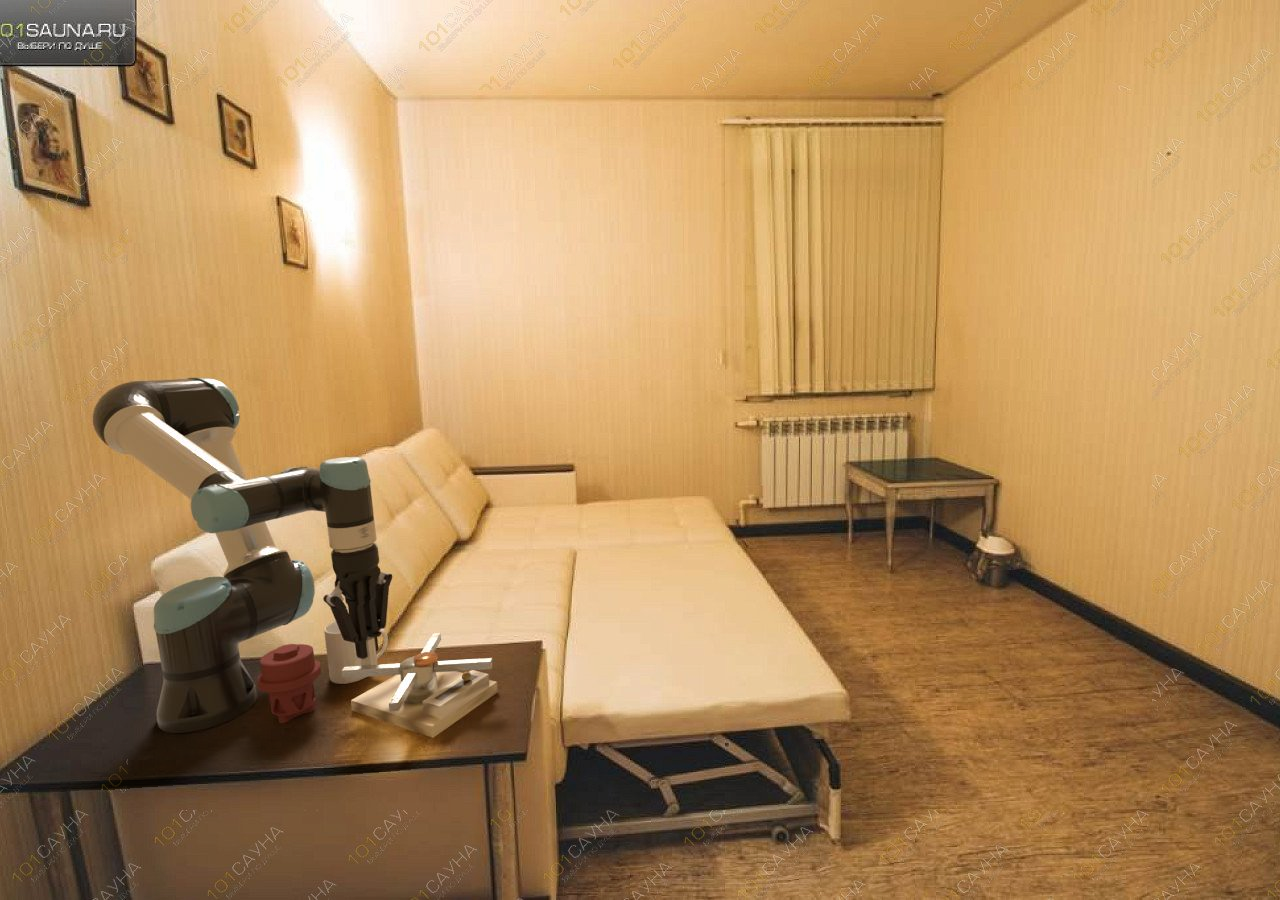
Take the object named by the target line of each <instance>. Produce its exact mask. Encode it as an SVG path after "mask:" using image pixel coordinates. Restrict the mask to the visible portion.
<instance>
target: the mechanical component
mask: <svg viewBox="0 0 1280 900" xmlns="http://www.w3.org/2000/svg"><path fill="white" fill-rule="evenodd" d="M314 653H315V652H314V647H313V646H311V645H310V644H303V643H302V644H301V643H300V644H299V643H289V644H284V645H282V646H281V645H280V646H278V647H277V648H275V649H272V650H271V651H268V652H267V653H265V654H264V655H263V656H261V658H260V660H259V665H260V673H259V674H258V675H257V677H256V684H257V685H256V687H257V689H259V690H260V691H261V692H263V693H268V697H269V705H270V712H271V714H273V715H275V716H277V718H278V722H279V724H286V723H288V722H289V721H291V720H293V719H295V718H296V717H299V716H302V715H304V714H307V713H311V712H314V710H315V709H316V703H315V702H316V697H315V687H314V685H315V684H314V681H315V680H316V679H317V678H319V676H320V675H321V673H322V667H321V662H320V661H319V660H317V659H315V654H314Z"/></svg>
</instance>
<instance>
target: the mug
mask: <svg viewBox="0 0 1280 900" xmlns="http://www.w3.org/2000/svg"><path fill="white" fill-rule="evenodd" d="M323 632H324V641H325V650H326V657H327V665H328V673H329V680H330V681H331V682H332V683H334V684H337V685H338V684H341V685H342V684H345V685H346V684H353V683H355V682H356V683H357V682H359V681H361V680H364V679H365V678H366V677H352V678H342V670H343V668H344V667H351V666H361V660H360V658H358V657H357V655H356V648H355V643H353V642H349V641H345V640H344V639H343V637H342V635H341V632H340V630H339V627H338V625H337V622H336V620H335V621H332V622H331V623H328V624H327V625H326V626H325V627H324V629H323ZM379 632H381V636H382V640H383V642H382V647H381V649H380V651H379V652H378V653H376V655H377V659H379V658H380V657H381V656H382V655H383V654H384V653H385V651H386V650H387V647H388V642H389V638H388V633H387V631H386V630H385V628H383V629H382V628H381V629H380V630H379Z"/></svg>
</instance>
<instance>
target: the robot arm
mask: <svg viewBox="0 0 1280 900" xmlns="http://www.w3.org/2000/svg"><path fill="white" fill-rule="evenodd" d="M237 401H238V400H237V398H236V397H235V395H234V394H233V391H231V389H230V388H229V387H228V386H227V385H226V384H224V382H222V381H219V380H216V379H214V378H208V377H207V378H201V377H200V378H199V377H188V378H185V379H184V378H182V379H181V378H179V379H178V378H177V379H162V380H161V379H160V380H134V381H133V380H132V381H128V382H125V383H121V384H118V385H116V386H114V387H112V388H110V389H109V390H107V391H106V392H105V393H104V394H103V395H101V397H100V398H99V399H98V401H97V403H96V405H95V406H94V408H93V412H92V425H93V429H94V431H95V433H96V435H97V437H98V438H99V439H100V440H101V441H102V442H103V443H104V444H106V445H107V446H108V447H109V448H110V449H112V450H113V451H115V452H117V453H120V454H124V455H130V456H132V457H133V458H134V459H136V460H137V461H139V462H140V463H141V464H143V466H145V467H147V468H148V469H149V470H151V472H153V473H155V474H156V475H157V476H158V477H160V478H161V479H163V481H165V482H167V483H168V484H169V485H170V486H172V487H173V488H174V489H176V490H177V491H179V492H180V493H181V494H182V495H184V496H186V498H188V499H189V500H190V510H191V515H192V519H193V520H194V521H195V522H196V524H197V527H198V528H199V529H201V531H203V532H205V533H208V534H215V536H216V539H217V540H218V543H219V545H220V548H221V551H222V552H223V555H224V557H225V559H226V562H227V567H226V569H225V571H224V573H223V575H222V576H208V577H204V578H202V579H194V580H192V581H188V582H186V583H185V582H184V583H182V584H180V585H178V586H176V587H174V588H172V589H170V590H168V591H166V593H164V594H162V595H161V596H160V597H159V598H158V600H157V601H156V602H155V604H154V605H153V622H154V623H153V631H155V635H156V641H157V648H158V652H159V653H158V654H159V658H160V659H159V660H160V666H161V671H162V678H163V682H162V687H161V692H160V695H159V696H160V697H159V700H158V704H157V709H156V721H157V726H158V728H159V729H160V730H162V731H163V732H165V733H172V734H181V733H182V734H183V733H185V734H186V733H193V732H196V731H197V732H198V731H202V730H205V729H209V728H212V727H215V726H219V725H221V724H223V723H226V722H228V721H231V720H232V719H235V718H237V717H238V716H240V715H242V714H244V713H245V712H246V711H248V710H249V709H250V708H251V707H252V706H253V705H254V704H255V703H256V701H257V696H258V695H257V689H256V685H255V682H254V680H253V679H252V677H251V675H250V674H249V672H248V670H247V668H246V667H245V665H244V663H243V662H242V660H241V655H240V647H239V645H240V643H242V642H244V641H247V640H249V639H251V638H252V639H253V638H254V637H257V636H260V635H262V634H264V633H266V632H270V631H272V630H274V629H277V628H279V627H282V626H287V625H289V624H290V623H292V622H293V621H295V620H298V619H300V618H303V617H304V616H305V615H306V614H307V613H308V612H309V611H311V608H312V606H313V603H314V598H315V593H316V592H315V591H316V589H315V581H314V577H313V574H312V570H310V568H309V567H308V566H309V565H307V564H305V563H304V562H303V561H302V560H300V559H291V557H290V555H289V553H288V551H287V550H286V549H283V548H280V547H277V545H276V544H275V541H274V539H273V537H272V534H271V532H270V529H269V528H268V525H267V522H269V521H272V520H276V519H277V520H278V519H280V518H284V517H288V516H293V515H296V514H301V513H305V512H310V511H315V512H325V517H326V525H327V527H326V528H327V535H328V542H329V543H328V544H329V548H330V549H332V550H331V552H330V557H331V564H332V569H333V572H334V574H335V580H334V589H333V590H332V591H331V592H330V594H325V595H324V596H323V602H324V603H325V604H326V605H327V606H329V607H330V610H331V612H332V615H333V617H334V619H335V621H336V622H337V625H338V627H339V630H340V632H341V635H342V637H343V639H344V640H345V641H349V642H353V643H355V648H356V655H357V657H358V658H360V660H361V666H367V665H379V664H378V658H377V652H378V651H379V648H380V647H379V640H378V639H379V637H381V636H382V634H381V632H379V630H380V629H381V628H382V629H385V628H386V626H387V616H388V605H389V603H388V602H389V594H390V593H389V591H390V585H391V582H392V580H393V574H392V573H387V572H383V571H381V568H380V566H379V564H380V555H379V547H378V546H379V545H378V544H377V543H376V541H377V531H376V523H375V518H374V517H375V516H374V506H373V497H372V487H371V477H370V475H369V469H368V465H367V464H368V463H367V461H366V460H365V459H364V458H362V457H359V456H351V457H347V456H346V457H336V458H331V459H326V460H324V461H322V462H321V463H320V464H319V468H317V467H316V468H315V467H308V466H297V467H288V468H286V469H283V470H282V471H281V472H279V473H275V474H269V475H263V476H257V477H251V478H247V477H246V474H245V472H244V469H243V467H242V465H241V463H240V460H239V458H238V455H237V453H236V451H235V449H234V446H233V444H232V441H233V440H234V437H235V435H236V430H235V429H236V428H237V427H238V425H239V423H240V413H239V410H240V408H239V404H238V402H237ZM344 601H345V602H344ZM347 608H348V609H347Z"/></svg>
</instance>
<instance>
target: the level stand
mask: <svg viewBox="0 0 1280 900" xmlns="http://www.w3.org/2000/svg"><path fill="white" fill-rule="evenodd" d="M436 675H437V686H438V692H436V693H435V694H433V695H432V696H430V697H428V698H427V699H425V700H424V701H423V702H420V703H408V702H405V701H404V703H403V704H402V706H401V708H400V709H399V711H391V712H390V711H389V702H390V700H391V699H392V697H393V696H394V694H395V693H396V691H397V690H398V688H399V686H400V685H401V676H400V675H392V677H389V678H388V679H386V680H385V681H383V682H381V683H379V684H377V685H376V686H374V687H372V688H371V689H368V690H366V691H365V692H364V693H362V694H360V695H358V696H356V697H355V698H353V699H351V700H350V704H351V711H352V712H355V713H358V714H360V715H363V716H367V717H371V718H372V719H376V720H377V721H381V722H384V723H388V724H390V725H394V726H397V727H398V728H399V727H400V728H401V729H402V728H403V729H404V730H409V731H412V732H414V733H418V734H422V735H423V736H426V737H430V738H436V737H437V735H440V734H441V733H442V732H443V731H445V730H447V729H448V728H449V727H451V726H452V725H454V723H456V722H457V721H459V720H461V719H462V718H463V717H465V716H466V715H467V714H469V713H470V712H471V711H473V710H474V709H476V708H477V707H478V706H480V705H482V704H483V703H484V702H486V701H488V699H489V700H490V698H491V697H493V696H495V695H496V694H497V693H498V682H497V681H494V680H492V679H490V675H489V673H486V672H482V671H479V670H468V671H463V672H462V671H451V672H436Z"/></svg>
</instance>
